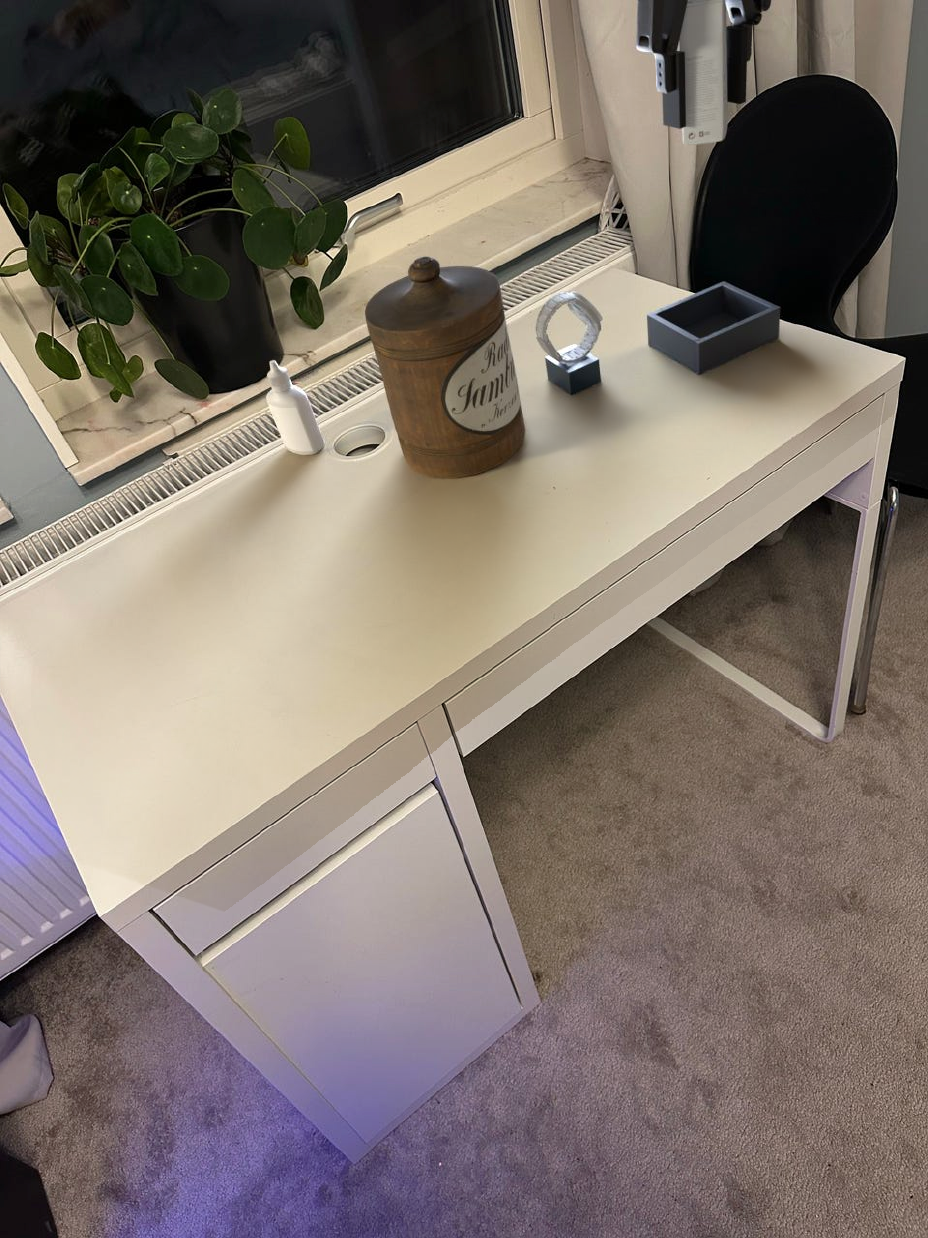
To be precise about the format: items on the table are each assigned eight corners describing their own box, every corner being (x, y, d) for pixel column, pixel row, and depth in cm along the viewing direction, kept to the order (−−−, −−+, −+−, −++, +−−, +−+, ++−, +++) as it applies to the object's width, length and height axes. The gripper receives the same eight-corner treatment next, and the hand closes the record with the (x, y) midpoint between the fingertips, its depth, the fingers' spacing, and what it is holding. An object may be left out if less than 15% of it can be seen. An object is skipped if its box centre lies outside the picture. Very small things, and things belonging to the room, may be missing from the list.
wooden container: (500, 484, 93) (460, 291, 78) (384, 475, 99) (325, 294, 84) (542, 409, 102) (514, 224, 87) (433, 405, 108) (388, 231, 93)
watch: (614, 375, 104) (607, 289, 97) (559, 401, 103) (547, 315, 95) (589, 360, 108) (580, 276, 101) (535, 384, 106) (522, 301, 99)
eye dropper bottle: (297, 463, 105) (262, 377, 96) (283, 445, 109) (248, 360, 100) (329, 449, 106) (296, 362, 97) (313, 431, 109) (281, 346, 101)
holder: (778, 339, 102) (780, 307, 100) (699, 375, 100) (698, 343, 98) (723, 311, 110) (723, 280, 107) (648, 344, 108) (646, 314, 105)
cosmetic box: (725, 141, 85) (727, -3, 77) (680, 147, 87) (677, 6, 79) (728, 121, 90) (730, -18, 81) (684, 127, 91) (682, -9, 83)
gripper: (765, -214, 76) (755, 78, 91) (580, -156, 72) (603, 139, 87) (828, -225, 70) (806, 86, 86) (633, -163, 66) (647, 152, 82)
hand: (704, 112), depth 87 cm, fingers closed on cosmetic box, 7 cm apart
